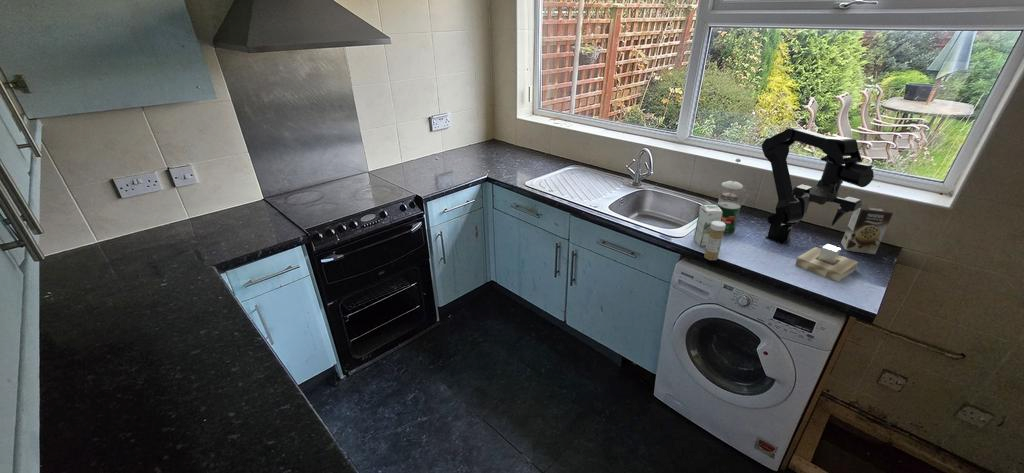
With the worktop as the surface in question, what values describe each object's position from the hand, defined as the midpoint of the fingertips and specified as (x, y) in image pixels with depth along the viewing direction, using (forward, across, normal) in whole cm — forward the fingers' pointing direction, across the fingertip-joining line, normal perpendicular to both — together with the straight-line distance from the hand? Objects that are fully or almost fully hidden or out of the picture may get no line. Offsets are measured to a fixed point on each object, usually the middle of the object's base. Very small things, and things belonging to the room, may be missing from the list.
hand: (817, 220), depth 148 cm
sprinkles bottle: (+13, -18, -30) cm, 37 cm away
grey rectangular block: (+12, +8, -5) cm, 16 cm away
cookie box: (+13, +9, +19) cm, 25 cm away
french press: (+13, -35, +8) cm, 38 cm away
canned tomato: (+13, -28, -6) cm, 32 cm away
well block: (+13, +8, -5) cm, 16 cm away
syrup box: (+13, -26, -22) cm, 37 cm away
